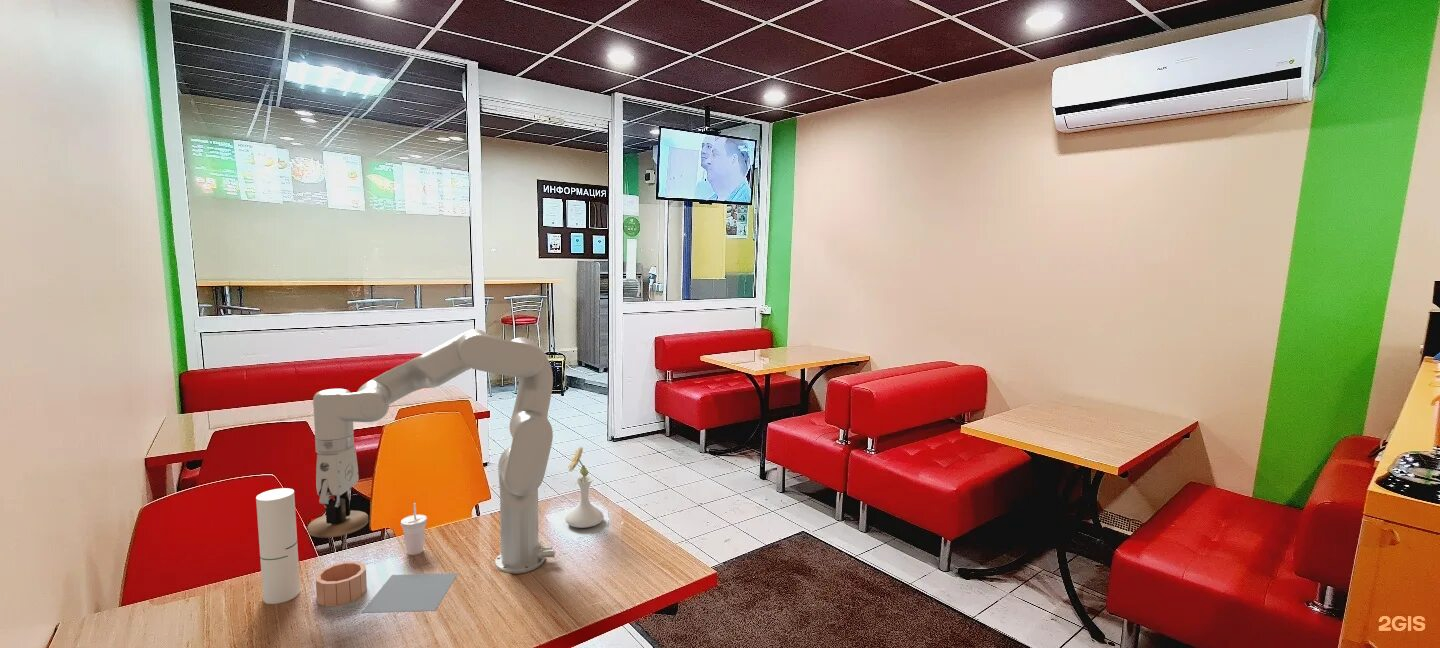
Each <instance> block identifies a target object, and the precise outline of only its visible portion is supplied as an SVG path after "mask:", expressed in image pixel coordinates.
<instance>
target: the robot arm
mask: <svg viewBox="0 0 1440 648" xmlns="http://www.w3.org/2000/svg"><path fill="white" fill-rule="evenodd" d="M551 366H552V365H551V364H550V361H549V359H548V357H547V355H546V353H545V352H544V351H543V349H542V348H541V347H540V346H539V345H538V344H536V342H534V341H533V340H531V339H529V338H527V337H520V336H519V337H516V338H513V339H511V340H509V339H504V338H503V339H502V338H498V337H494V336H491V335H489V334H488V333H487V332H486V331H484V330H482V329H478V328H474V329H473V328H472V329H469V330H466V331H464V332H462V333H460V334H458V335H456V336H454V337H453V338H450V339H449V340H448V341H446V342H443V343H441V344H440V345H438V346H436V347H434V348H433V349H430V350H429V351H427V352H425V353H423V354H421V355H419V356H417V357H414V358H412V359H410V360H408V361H406V362H404V363H402V364H399V365H397V366H395V367H393V368H391V369H390V370H386V371H385V372H383V373H382V374H379V375H377V376H376V377H374V378H372V379H370V380H369V381H367V382H365V383H364V384H362V385H361V386H360V387H359V388H358V389H357V391H356V392H351V391H350V390H349V389H346V388H345V389H344V388H329V389H323V390H320V391H317V392H316V393H315V394H314V396H313V399H312V400H313V401H312V402H313V403H312V405H313V423H314V425H313V426H314V442H315V444H314V445H315V453H317V454H316V467H315V471H316V473H315V475H316V476H315V477H316V478H315V480H316V481H315V482H316V483H315V484H316V493H317V495H318V496H319V499H318V502H319V504H321V505H323V506H324V508H325V515H326V522H327V523H341V522H342V506H339V505H340V498H343V499H345V508H346V516H349V515H350V511H351V496H352V495H351V489H352V488H353V487H354V486H355V485H356V484H357V483H358V482H359V480H360V479H359V477H360V476H359V466H358V464H359V463H358V457H357V451H356V447H355V436H354V434H355V433H354V431H355V430H354V422H355V423H372V422H373V423H374V422H378V421H380V420H382V419H383V418H384V417H385V416H387V414H388V411H389V409H390V405H391V404H393V403H395V402H397V401H398V400H400V399H402V398H404V397H406V396H408V395H410V394H412V393H414V392H417V391H420V390H422V389H432V388H437V387H440V386H441V385H444V384H446V383H447V382H449V381H450V380H452V379H454V378H456V377H457V376H459V375H462V374H464V373H466V371H468V370H470V369H472V370H475V371H480V372H486V373H490V374H496V375H503V376H509V377H512V378H513V377H514V378H518V388H517V392H516V393H517V394H516V398H515V403H514V407H513V411H512V415H511V417H510V421H509V428H508V429H509V433H510V436H511V437H512V440H511V446H509V447H507V448H506V449H505V450H503V452H502V453H501V455H500V457H499V460H498V464H497V465H498V466H497V471H498V484H499V485H498V486H499V519H500V521H499V522H500V523H499V524H500V529H499V530H500V533H499V534H500V553H499V554H498V555H497V557H496V558H495V559H494V567H495V568H496V569H497V570H499V571H500V572H503V573H508V574H510V575H516V574H518V575H519V574H525V573H529V572H532V571H534V570H536V569H537V568H540V566H542V564H543V563H544V562H545V560H546V559H545V558H555V557H556V549H553V546H550V545H548V546H544V545H542V540H539V488H540V487H541V485H542V483H543V481H544V478H545V474H546V472H547V466H548V463H549V458H550V454H551V448H552V444H553V438H554V436H553V435H554V433H553V427H552V424H551V423H550V421H549V419H548V415H549V409H550V403H551V398H552V392H553V383H554V376H553V375H554V374H553V369H552V367H551ZM334 499H335V500H334Z"/></svg>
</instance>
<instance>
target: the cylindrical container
mask: <svg viewBox="0 0 1440 648" xmlns="http://www.w3.org/2000/svg"><path fill="white" fill-rule="evenodd" d="M295 501H296V500H295V490H294V489H293V488H288V487H287V488H286V487H284V488H283V487H280V488H274V489H270V490H266V491H263V492H261V493H259V494H257V495H256V497H255V502H256V503H255V504H256V515H257V516H256V517H257V528H258V529H257V530H258V531H257V532H258V544H259V557H260V571H261V572H260V574H261V585H262V587H261V588H262V599H263V600H262V601H263V603H265V604H267V605H276V604H281V603H282V604H283V603H286V602H289V601H290V600H292V599H293V600H294V598H296V597H297V596H298V595H299V594H300V593H301V581H300V566H299V564H300V563H299V550H298V548H299V547H298V534H297V516H296V515H297V514H296V502H295Z"/></svg>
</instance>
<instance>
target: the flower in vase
mask: <svg viewBox="0 0 1440 648" xmlns="http://www.w3.org/2000/svg"><path fill="white" fill-rule="evenodd" d="M583 449H584V448H583V447H582V446H579V447H578V449H575V451H574V455H573V457H571V459H570V461H571V462H570V464H568V466H567V468H569V469H568V471H569V472H572V471H573V470H575V468H576V467H577V465H578V464H579V463H580V465H581V468H580V469H579V470H580V471H579V472H580V474H581V475H582V476H580V477H578V478H576V479H575V481H576V482H577V484H578V486H579V489H580V501H579V504H577V505H576V506H575V507H573V509H571V510H570V511H569V512H568V513H566V516H565V522H566V523H567V524H568V525H569V526H571V527H574V528H581V529H583V528H590V527H594V526H597V525H598V524H600V523H602V521H603V520H604V516H605V515H604V514H603V512H602V510H600V509H599V508H598V507H596V506H595V505H593V504H592V503H591V502H590V499H589V494H590V493H589V491H590V487H591V483H592V482H593V481H594V478H593V477H591V476H588V474H589V470H588V469H587V468H586V465H584V464H583V463H582V461H581V460H580V459H581V457H582V455H583V451H584V450H583Z"/></svg>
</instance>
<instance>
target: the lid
mask: <svg viewBox="0 0 1440 648" xmlns="http://www.w3.org/2000/svg"><path fill="white" fill-rule="evenodd" d="M333 499H334V500H335V498H333ZM339 506H342V522H341V523H327V522H326V514H324V515H322V516H319V517H317V518H315V519H313V520H312V521H311V522H309V523H308V524H307V533H308V535H310V536H311V537H315V538H321V539H322V538H323V539H324V538H334V537H335V538H336V537H337V538H338V537H342V536H345V535H349V534H352V533H354V532H357V531H359V530H361V529H363V528H364V527H365V526H367V525H368V523H369V515H368V513H366V512H365V511H361V510H350V515H349V516H346V508H345V499H343V498H340V505H339Z"/></svg>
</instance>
